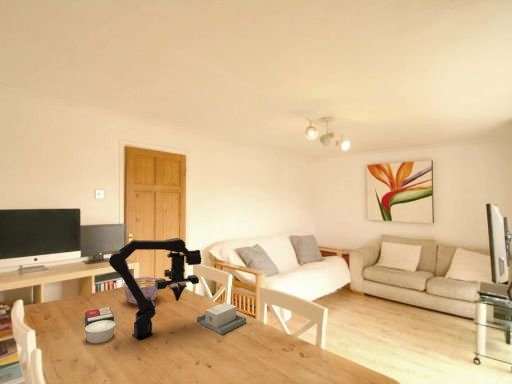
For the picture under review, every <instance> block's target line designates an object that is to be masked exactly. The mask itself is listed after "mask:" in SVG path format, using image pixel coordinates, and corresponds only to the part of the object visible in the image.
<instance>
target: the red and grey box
mask: <svg viewBox="0 0 512 384" xmlns="http://www.w3.org/2000/svg"><path fill="white" fill-rule="evenodd" d="M84 319H85V328H86V327H87V326H88V325H89V324H91V323H94V322H97V321H103V320H110V321H113V322H115V316H114V314H113V311H112V309H111V307H109V306H107V307H102V308H98V309H97V308H96V309H91V310H87V311H86V312H85V313H84Z"/></svg>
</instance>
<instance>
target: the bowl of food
mask: <svg viewBox="0 0 512 384" xmlns="http://www.w3.org/2000/svg"><path fill="white" fill-rule="evenodd" d="M134 278H135V280H136V281H137V283H138V285H139V286H140V288H141V290H142V291H143V293H144V295H145V296H147V297H149V296H151V298H152V300H153V301H154V300H155V299H156V297H157V296H158V294H159V291H160V289H159V290H158V289H157V288H156V287H155V281H156V280H160V279H161V278H159V277H154V276H141V277H134ZM122 286H123V287H122V288H123V290H124V295H125V299H126V300H127V301H128V302H129V303H131V304H134V305H136V306H138V304H137V301H136V300H135V298H134V296H133V295H132V293H131V291H130V290H129V288H128V287H127V285H126V283H125V282H123V283H122Z"/></svg>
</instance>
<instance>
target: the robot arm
mask: <svg viewBox="0 0 512 384" xmlns="http://www.w3.org/2000/svg"><path fill="white" fill-rule="evenodd" d="M137 250H138V251H139V250H142V251H143V250H146V251H147V250H148V251H151V250H152V251H154V250H159V251H160V250H162V251H163V250H164V251H167V252H168V251H169V253H168V254H167V255H166V257H167V258H168V259H169V258H171V260H170V261H171V266H170V269H164V270H163V271H164V272H163V275H164V278H162V279H161V278H159V279H160V280H156V281H155V287H156V288H157V289H158V290H159V291H160V290H164V289H166V288H167V287H168V288H169V289H170V290H172V292H173V295H174V298H175V301H176V302H179V301H180V298H181V296H182V294H183V291H184V290H185V288H187V287H188V286H187V283H191V284H192V285H196V284H197V285H198V284H200V278H199V277H198V276H197V275H196V274H191V275H187V277H185V271H186V270H185V264H187V266H195V265H196V266H197V265H202V255H201V250H200V249H193V250H189V249H188V248H187V247H186V242H185V241H184V240H183V239H182V238H180V237H174V238H169V239H164V240H160V239H159V240H157V239H156V240H155V239H154V240H153V239H152V240H151V239H150V240H149V239H148V240H147V239H143V240H142V239H141V240H140V239H138V240H137V239H132V240H130V241H129V242H128V243H126V245H124V246H123V247H122V248H121V249H119V250H116V251H114V252H112V253H111V254H110V255H109V257H110V258H109V260H108V263H109V264H108V265H110V267H111V268H112V269H113V270H114V271H115V272H117V274H119V275H120V276H121V278H122V280H123V281H124V282H125V283H126V285H127V287H128V288H129V290H130V291H131V293H132V295H133V296H134V298H135V300H136V301H137V304H138V305H137V307H138V311H137V312H136V313H135V321H133V333H132V334H131V336H132V337H133V338H135V339H136V340H138V341H141V340H143V339H146V338H149V337H151V336H153V335H154V333H152V332H153V322H152V319H153V318H154V317H155V315H156V308H157V307H156V306H157V305H156V302H155V301H154V300H152V298H151V296H149V297H147V296H145V295H144V293H143V291H142V290H141V288H140V286H139V285H138V283H137V281H136V280H135V278H136V277H135V276H134V275H133V273H132V271H131V270H130V268H129V265H128V261H127V259H128V258H129V257H130V256H131V255H132V254H133V253H134V252H135V251H137ZM165 278H167V279H169V280H166V279H165ZM124 282H123V283H124Z"/></svg>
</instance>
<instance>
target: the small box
mask: <svg viewBox="0 0 512 384" xmlns="http://www.w3.org/2000/svg"><path fill="white" fill-rule="evenodd" d="M205 314H206V318H205V323H207V324H209V325H211V326H213V327H215V328H218V327H220V326H222V325H224V324H226V323H228V322H231V321H233V320H235V319H236V314H237V306H236V305H234V304H232V303H228V302H223V303H219V304H217V305H214V306H213V307H210V308H208V309H206V310H205Z"/></svg>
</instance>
